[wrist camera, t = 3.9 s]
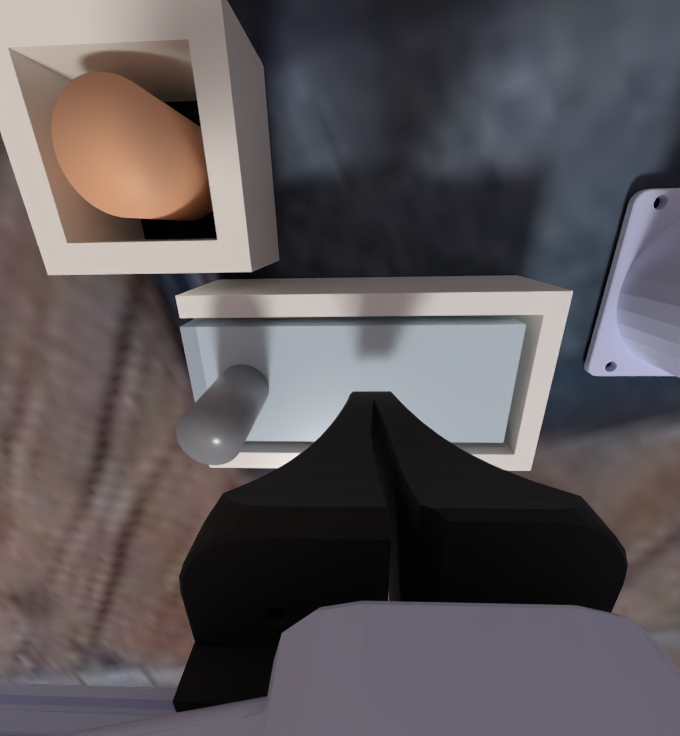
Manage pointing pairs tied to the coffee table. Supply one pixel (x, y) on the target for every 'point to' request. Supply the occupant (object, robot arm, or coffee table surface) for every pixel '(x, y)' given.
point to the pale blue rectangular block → (344, 376)
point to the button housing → (167, 83)
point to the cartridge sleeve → (408, 298)
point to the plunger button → (129, 150)
